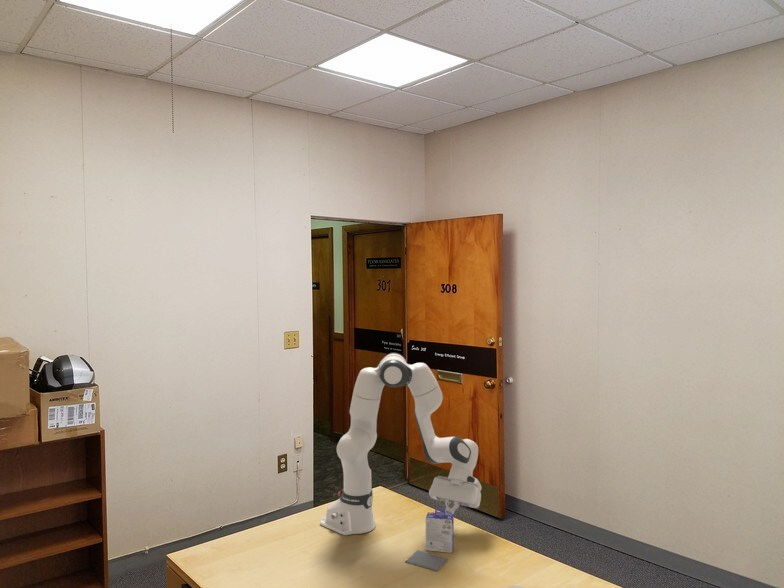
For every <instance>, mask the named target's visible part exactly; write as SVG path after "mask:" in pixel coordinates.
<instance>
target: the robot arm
mask: <svg viewBox="0 0 784 588" xmlns="http://www.w3.org/2000/svg"><path fill="white" fill-rule="evenodd" d="M385 386H387V387H389V388H397V387H398V388H399V387H408V388H409V390H410V393H411V395H412V397H413V400H414V409H413V413H414V418H415V422H416V426H417V428H418V429H417V430H418V432H419V435H420V438H421V442H422V447H423V455H424V457H425V459H426V460H427V461H428V462H429V463H430V464H432V465H437V464H438V465H439V464H443V463H446V464H447V463H450V464H451V468H450V470H449V474H448V476H442V475H438V476H435V477H434V478H433V481H432V484H431V485H430V488H429V490H428V495H429V496H430V498H431V499H432V500H436V501H442V502H444V504H445V513H447V514H453V515H455V514H454V513H455V512H456V511H457V510H458V508H459V507H460V506H463V507H467V508H473V509H478V508H479V507H480V506H481V501H482V493H481V491H482V487H483V486H482V485H481V482H480V481H479V479H478V478H476V477H474V476H473V474H474V470H475V468H476V466H477V462H478V457H479V446H478V444H477V443H476V442H475V441H473V440H472V439H469V438H464V439H462V438H461V437H460V436H447V437H446V436H445V437H438V436H437V435H436V434H435V430H434V427H433V423H432V419H431V416H432V414H433V413H434V412H436V411H437V410H438V409H439V407H441V405H442V402H443V399H444V397H443V396H444V395H443V391H442V390H441V387H440V385H439V382H438V380H437V378H436V377H435V375H434V373H433V372H432V370H431V368H430V367H429V366H428V365H427V364H426V363H425V362H416V363H413V364H410V363H408V362H407V360H406V358H405V356H403V354H401V353H398V352H389V353H387V354H386V355H384V356H383V357H382V358H381V360H380V361H378V363H377V364H376V367H364V368H362V369H361V370H360V371H359V373H358V375H357V377H356V381H355V384H354V388H353V392H352V397H351V401H350V407H349V415H350V427H349V429H348V431H347V432H346V433H345V434H343V435H342V436H341V437H340V439H339V441H338V442H337V445H336V454H337V457H338V458H339V459H340V462H341V466H342V472H343V489H341V490H340V491H338V493H337V496H340V497H339V498H338V499H336V500H335V501H334V502H333V503H331V504H330V505H329V506H328V507H327V509H326V514H325V515H324V516H323V517H322V518H321V519H320V521H319V525H320V526H322V527H325V528H327V529H329V530H331V531H333V532H336V533H338V534H340V535H342V536H349V535H358V534H360V535H361V534H366V533H368V532H371V531H373V530H374V529H375V528H376V526H377V525H376V522H375V517H374V511H373V489H372V469H371V468H370V466H369V461H368V460H369V459H368V454H369V451H370V450H372V449H373V448H374V446H375V444H376V441H377V438H378V433H377V425H378V424H377V421H378V412H379V410H380V409H379V408H380V403H381V397H382V393H383V389H384V387H385ZM451 504H453V506H452V507H450V505H451Z"/></svg>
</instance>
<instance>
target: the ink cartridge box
mask: <svg viewBox="0 0 784 588" xmlns="http://www.w3.org/2000/svg"><path fill="white" fill-rule="evenodd" d="M438 510H440V511H438ZM445 510H446V507H440V506H435V511H434V512H430V511H429V512H428V511H427V514H426V517H425V551H428V552H429V551H432V552H441V553H449V554H450V553H452V552H453V551H454V539H455V537H454V535H455V534H454V533H455V531H454V523H455V520H454V518H455V517H454V515H455V514H447V513H445Z"/></svg>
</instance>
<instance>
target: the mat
mask: <svg viewBox="0 0 784 588" xmlns="http://www.w3.org/2000/svg"><path fill="white" fill-rule="evenodd" d="M448 560H449V558H448V557H445V556H441V555H438V554H434V553H430V552H428V551H427V552H426V551H423V550H420V549H417V550H416V551H415V552H413V553H412V555H411V556H409V557H407V559H406V560H405V563H407V564H410V565H413V566H418V567H420V568H424V569H426V570H430V571H434V572H438V571H439V570H441V568H442V567H443V566H445V564H446V563H445V562H448ZM444 563H445V564H444Z"/></svg>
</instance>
